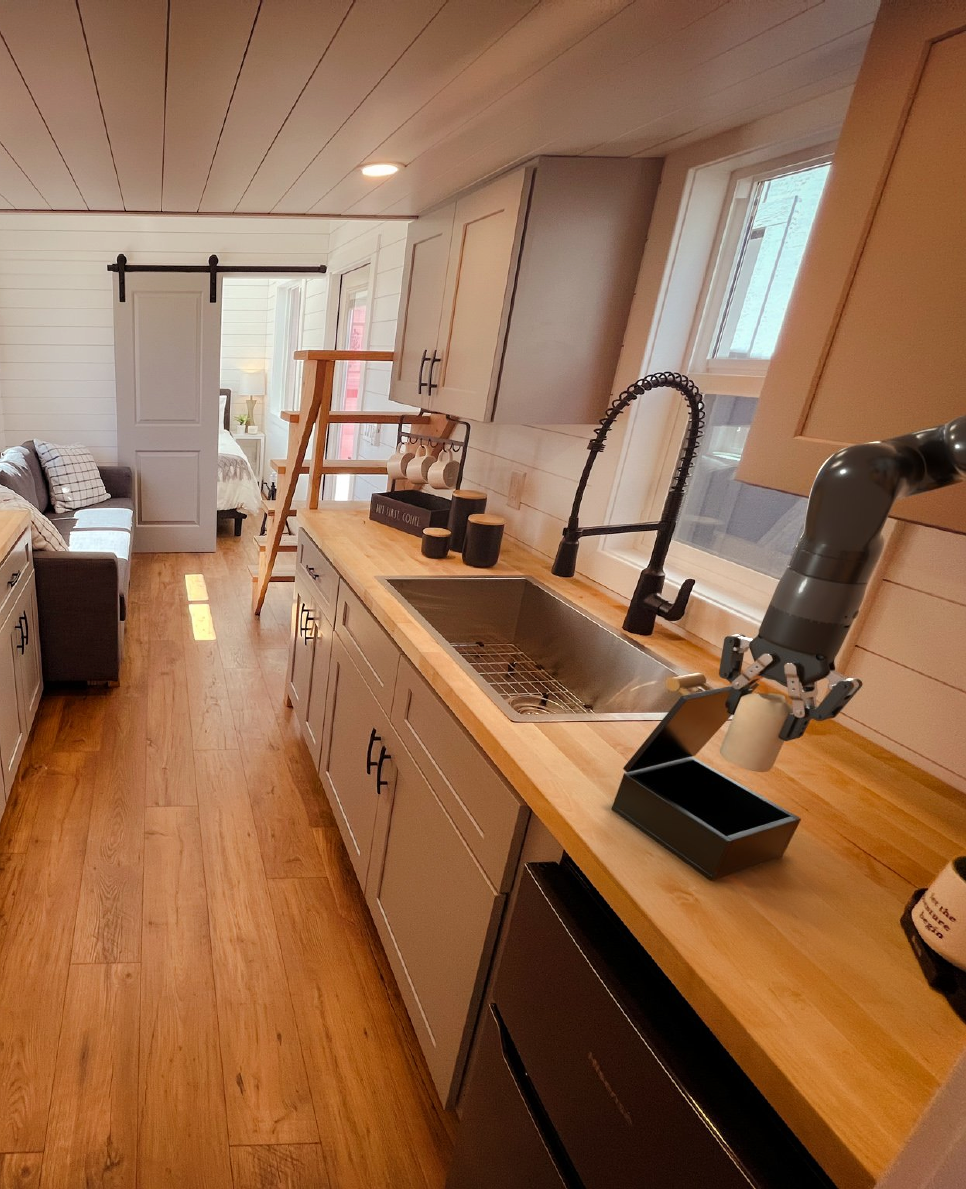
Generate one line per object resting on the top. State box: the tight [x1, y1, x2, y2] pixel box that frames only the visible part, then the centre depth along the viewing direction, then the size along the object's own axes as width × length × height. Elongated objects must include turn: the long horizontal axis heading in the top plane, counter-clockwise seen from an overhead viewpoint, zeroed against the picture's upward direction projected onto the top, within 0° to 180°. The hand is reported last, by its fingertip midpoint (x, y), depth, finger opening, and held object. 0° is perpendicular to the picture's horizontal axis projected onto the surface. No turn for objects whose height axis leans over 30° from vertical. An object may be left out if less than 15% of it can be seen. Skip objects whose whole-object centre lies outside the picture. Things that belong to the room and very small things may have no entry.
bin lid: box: [622, 672, 760, 773], centre depth 95 cm, size 16×15×5 cm
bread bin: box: [610, 756, 802, 882], centre depth 93 cm, size 15×15×7 cm
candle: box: [719, 692, 793, 773], centre depth 84 cm, size 6×6×10 cm
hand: (759, 725), depth 84 cm, fingers closed on candle, 5 cm apart
